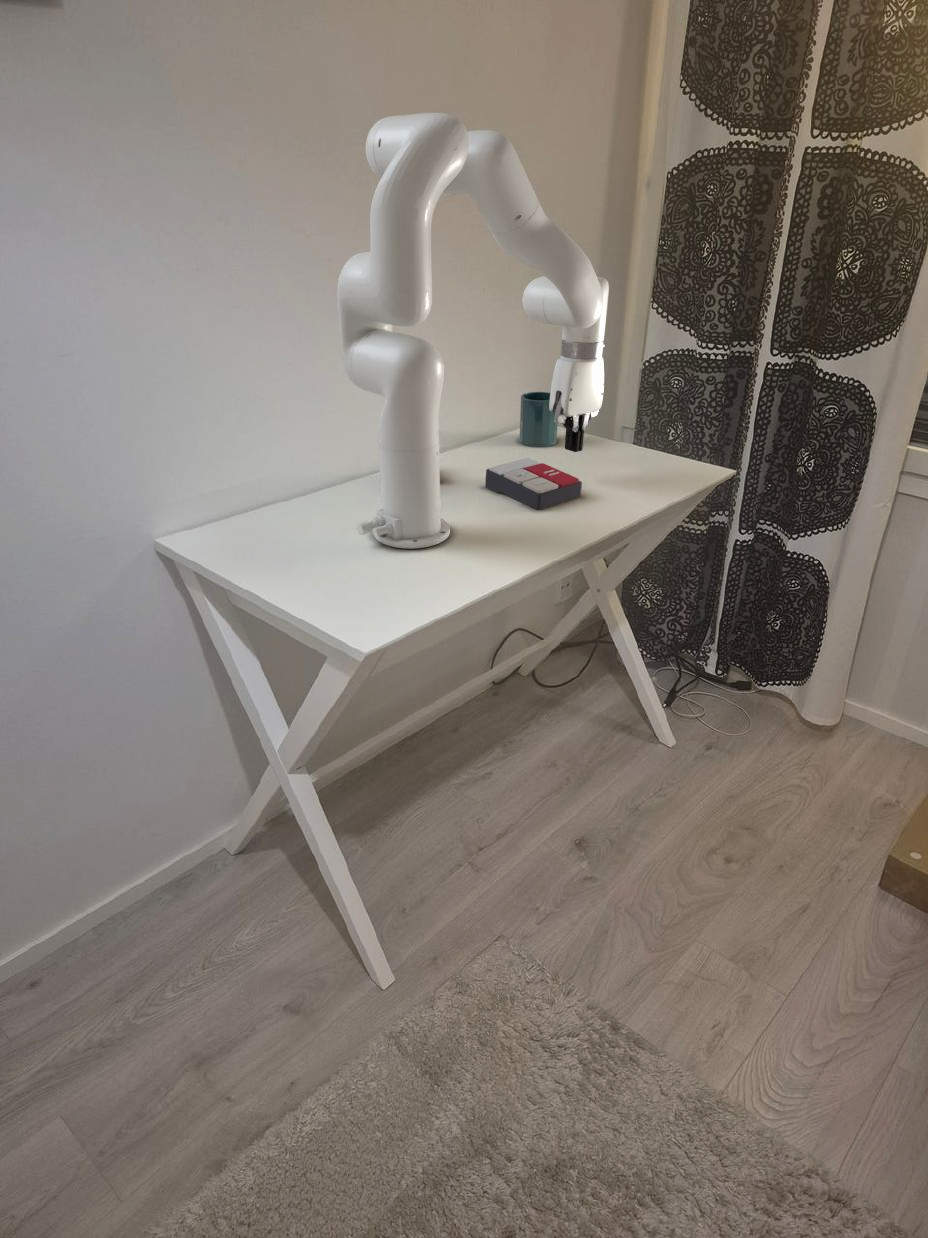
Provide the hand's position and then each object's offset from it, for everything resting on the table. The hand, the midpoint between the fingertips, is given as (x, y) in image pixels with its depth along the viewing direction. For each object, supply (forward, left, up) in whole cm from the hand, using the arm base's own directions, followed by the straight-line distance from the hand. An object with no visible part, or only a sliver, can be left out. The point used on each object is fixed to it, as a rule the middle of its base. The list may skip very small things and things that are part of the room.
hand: (573, 449), depth 153 cm
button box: (-10, 0, -6) cm, 12 cm away
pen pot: (+13, +23, -6) cm, 27 cm away
